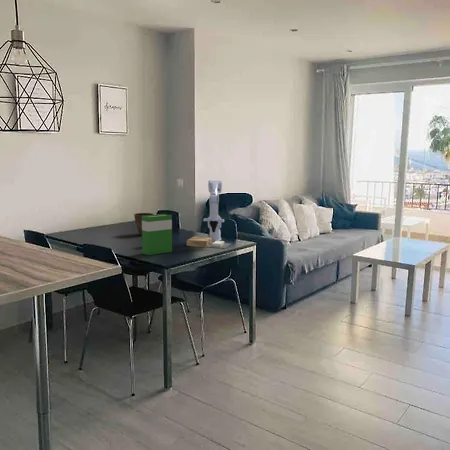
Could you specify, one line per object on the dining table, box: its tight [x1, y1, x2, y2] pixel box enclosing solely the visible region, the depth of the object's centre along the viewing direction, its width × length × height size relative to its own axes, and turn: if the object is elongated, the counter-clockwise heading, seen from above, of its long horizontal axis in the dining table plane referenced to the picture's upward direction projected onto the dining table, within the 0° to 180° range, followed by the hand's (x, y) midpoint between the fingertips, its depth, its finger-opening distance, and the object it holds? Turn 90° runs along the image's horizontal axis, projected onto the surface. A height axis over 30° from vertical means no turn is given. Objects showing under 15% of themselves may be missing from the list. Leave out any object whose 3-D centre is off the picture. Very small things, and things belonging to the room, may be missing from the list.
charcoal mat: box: [206, 242, 232, 250], centre depth 328 cm, size 16×13×1 cm
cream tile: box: [212, 240, 225, 247], centre depth 327 cm, size 9×6×2 cm, turn 163°
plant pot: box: [133, 212, 155, 236], centre depth 367 cm, size 15×15×16 cm
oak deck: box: [186, 235, 214, 248], centre depth 332 cm, size 16×14×4 cm
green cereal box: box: [141, 213, 173, 256], centre depth 303 cm, size 18×7×24 cm, turn 130°
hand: (213, 232), depth 328 cm, fingers closed
